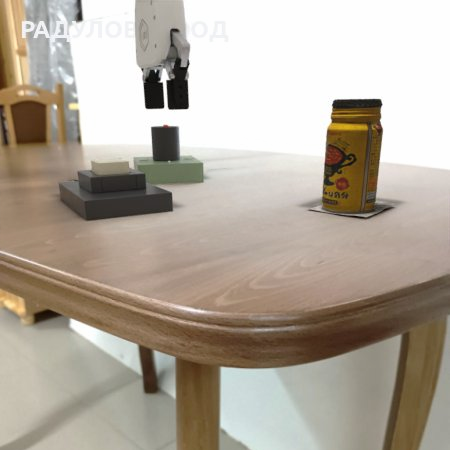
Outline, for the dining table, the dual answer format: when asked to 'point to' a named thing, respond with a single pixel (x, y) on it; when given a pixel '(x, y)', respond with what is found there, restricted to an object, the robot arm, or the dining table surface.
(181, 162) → the panel
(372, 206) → the condiment
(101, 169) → the white key
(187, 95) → the robot arm
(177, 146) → the volume knob
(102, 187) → the tiered dark pedestal
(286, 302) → the dining table surface
